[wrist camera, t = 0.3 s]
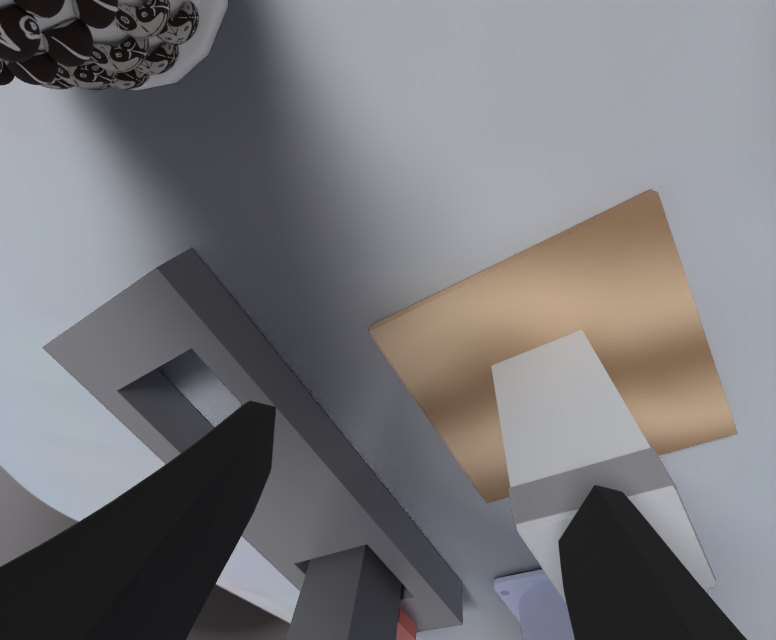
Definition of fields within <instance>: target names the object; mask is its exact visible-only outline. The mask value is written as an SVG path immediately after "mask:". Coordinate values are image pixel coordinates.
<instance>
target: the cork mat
mask: <svg viewBox="0 0 776 640" xmlns="http://www.w3.org/2000/svg"><path fill="white" fill-rule="evenodd" d="M580 330H583V332H584V334H585V336H586V337H587V339H588V341H589V342H590V344H591V346H592V348H593V349H594V351H595V353H596V354H597V356H598V358H599V360H600V361H601V363H602V365H603V367H604V368H605V370H606V372H607V373H608V375H609V377H610V379H611V380H612V382H613V384H614V385H615V387H616V389H617V391H618V392H619V394H620V396H621V397H622V399H623V401H624V403H625V404H626V406H627V408H628V410H629V411H630V413H631V415H632V416H633V418H634V420H635V422H636V423H637V425H638V427H639V428H640V430H641V432H642V434H643V435H644V437H645V439H646V440H647V442H648V444H649V446H650V447H651V448H652V447H653V448H654V450H655V452H656V453H657V455H662V454H666V453H669V452H673V451H677V450H680V449H684V448H687V447H691V446H695V445H698V444H702V443H706V442H709V441H713V440H717V439H720V438H724V437H727V436H731V435H735V434H738V433H737V430H736V427H735V424H734V421H733V418H732V415H731V412H730V409H729V406H728V403H727V400H726V397H725V394H724V391H723V388H722V385H721V382H720V379H719V376H718V373H717V370H716V367H715V363H714V360H713V357H712V354H711V351H710V348H709V345H708V342H707V339H706V336H705V333H704V330H703V327H702V324H701V321H700V318H699V315H698V312H697V309H696V306H695V303H694V300H693V297H692V294H691V291H690V288H689V285H688V282H687V279H686V276H685V273H684V270H683V267H682V264H681V261H680V258H679V255H678V252H677V249H676V246H675V243H674V240H673V237H672V234H671V231H670V228H669V225H668V222H667V219H666V216H665V212H664V209H663V206H662V203H661V200H660V197H659V194H658V192H656V191H653V190H651V189H650V190H648V191H646V192H644V193H641V194H639V195H637V196H635V197H633V198H631V199H629V200H627V201H625V202H623V203H621V204H619V205H617V206H615V207H613V208H611V209H609V210H607V211H605V212H602V213H600V214H598V215H596V216H594V217H592V218H590V219H588V220H586V221H584V222H582V223H580V224H578V225H576V226H574V227H572V228H570V229H568V230H566V231H563V232H561V233H559V234H557V235H555V236H553V237H551V238H549V239H547V240H545V241H543V242H541V243H539V244H537V245H535V246H533V247H531V248H529V249H527V250H525V251H522V252H520V253H518V254H516V255H514V256H512V257H510V258H508V259H506V260H504V261H502V262H500V263H498V264H496V265H494V266H492V267H490V268H488V269H486V270H483V271H481V272H479V273H477V274H475V275H473V276H471V277H469V278H467V279H465V280H463V281H461V282H459V283H457V284H455V285H453V286H451V287H449V288H447V289H444V290H442V291H440V292H438V293H436V294H434V295H432V296H430V297H428V298H426V299H424V300H422V301H420V302H418V303H416V304H414V305H412V306H410V307H408V308H406V309H403V310H401V311H399V312H397V313H395V314H393V315H391V316H389V317H387V318H385V319H383V320H381V321H379V322H377V323H375V324H373V325H371V326H370V329H369V331H368V332H369V334H370V335H371V337H372V338H373V339H374V341H375V342H376V344H377V345H378V347H379V348H380V350H381V351H382V353H383V354H384V355H385V357H386V358H387V360H388V361H389V363H390V364H391V366H392V367H393V368H394V370H395V371H396V373H397V374H398V376H399V377H400V379H401V380H402V381H403V383H404V384H405V386H406V387H407V389H408V390H409V392H410V393H411V394H412V396H413V397H414V399H415V400H416V402H417V403H418V405H419V406H420V408H421V409H422V410H423V412H424V413H425V415H426V416H427V418H428V419H429V421H430V422H431V423H432V425H433V426H434V428H435V429H436V431H437V432H438V434H439V435H440V436H441V438H442V439H443V441H444V442H445V444H446V445H447V447H448V448H449V449H450V451H451V452H452V454H453V455H454V457H455V458H456V460H457V461H458V462H459V464H460V465H461V467H462V468H463V470H464V471H465V473H466V474H467V476H468V477H469V478H470V480H471V481H472V483H473V484H474V486H475V487H476V489H477V490H478V491H479V493H480V494H481V496H482V497H483V499H484V500H485V502H486V503H488V502H491V501H495V500H499V499H502V498H506V497H509V489H508V488H510V482H509V475H508V469H507V463H506V456H505V450H504V444H503V437H502V431H501V425H500V418H499V412H498V406H497V399H496V393H495V387H494V380H493V374H492V368H491V366H492V365H494V364H497V363H499V362H502V361H505V360H507V359H510V358H512V357H515V356H517V355H520V354H522V353H525V352H527V351H530V350H532V349H535V348H537V347H540V346H542V345H545V344H547V343H550V342H552V341H555V340H557V339H560V338H562V337H565V336H567V335H570V334H572V333H575V332H577V331H580Z"/></svg>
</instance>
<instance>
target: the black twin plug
mask: <svg viewBox="0 0 776 640" xmlns="http://www.w3.org/2000/svg"><path fill="white" fill-rule="evenodd" d="M401 585H402V583H401V581H400V580H399V579H398V578H397V577H396V576H395V575H394V574H393V573H392V571H391V570H390V569H389V568H388V567H387V566H386V565H385V564H384V562H383V561H382V560H381V559H380V558H379V557H378V556H377V555H376V554H375V552H374V551H373V550H372V549H371V548H370V547H369V546H368V545H367V544H366V545H362V546H359V547H355V548H351V549H347V550H344V551H340V552H336V553H332V554H329V555H325V556H321V557H317V558H314V559H310V562H309V565H308V569H307V572H306V575H305V578H304V582H303V585H302V588H301V592H300V595H299V598H298V601H297V605H296V608H295V611H294V615H293V618H292V621H291V624H290V628H289V631H288V634H287V638H286V640H396V635H397V625H398V615H399V605H400V595H401Z"/></svg>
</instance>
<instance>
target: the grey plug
mask: <svg viewBox="0 0 776 640" xmlns="http://www.w3.org/2000/svg"><path fill="white" fill-rule="evenodd" d="M491 368H492V374H493V380H494V387H495V393H496V399H497V406H498V412H499V418H500V425H501V431H502V437H503V444H504V450H505V456H506V463H507V469H508V475H509V482H510V488H508V489H509V496H510V502H511V509H512V515H513V522H514V525H515V526H516V528H517V531H518V533H519V534H520V536H521V537H522V539H523V540H524V542H525V543H526V545H527V546H528V548H529V549H530V551H531V552H532V554H533V555H534V557H535V558H536V560H537V561H538V563H539V564H540V565H541V567H542V568H543V570H544V571H545V573H546V574H547V576H548V577H549V579H550V580H551V582H552V583H553V585H554V586H555V588H556V589H557V591H558V592H559V594H560V595H561V597H562V598H563V600H564V601H565V602H566V599H565V595H564V589H563V581H562V574H561V565H560V555H559V545H558V541H559V539H560V538H561V536H562V535H563V533H564V531H565V530H566V528H567V527H568V525H569V524H570V522H571V521H572V519H573V517H574V516H575V514H576V513H577V511H578V510H579V508H580V507H581V505H582V503H583V502H584V500H585V499H586V497H587V496H588V494H589V493H590V491H591V489H592V488H593V486H594V485H598V486H602V487H606V488H610V489H614V490H618V491H622V492H623V493H624V494H625V495H626V496H627V497H628V499H629V500H630V501H631V502H632V503H633V504H634V505H635V507H636V508H637V509H638V510H639V511H640V513H641V514H642V515H643V516H644V517H645V519H646V520H647V521H648V522H649V523H650V525H651V526H652V527H653V528H654V530H655V531H656V532H657V533H658V534H659V536H660V537H661V538H662V539H663V541H664V542H665V543H666V544H667V545H668V547H669V548H670V549H671V550H672V552H673V553H674V554H675V555H676V556H677V558H678V559H679V560H680V561H681V563H682V564H683V565H684V566H685V567H686V569H687V570H688V571H689V572H690V573H691V575H692V576H693V577H694V578H695V580H696V581H697V582H698V583H699V584H700V585H701V587H702V588H703V589H706V588H712V587H718V586H717V584H716V582H715V580H716V579H715V576H714V574H713V572H712V569H711V567H710V565H709V562H708V560H707V558H706V555H705V553H704V551H703V549H702V546H701V544H700V542H699V539H698V537H697V535H696V532H695V530H694V528H693V526H692V523H691V521H690V519H689V516H688V514H687V512H686V509H685V507H684V505H683V502H682V500H681V498H680V496H679V493H678V491H677V489H676V486H675V484H674V482H673V480H672V479H671V477H670V475H669V474H668V472H667V470H666V469H665V467H664V465H663V464H662V462H661V460H660V458H659V457H658V455H657V453H656V452H655V450H654V448H653V447H652V448H651V447H650V446H649V444H648V442H647V440H646V439H645V437H644V435H643V434H642V432H641V430H640V428H639V427H638V425H637V423H636V422H635V420H634V418H633V416H632V415H631V413H630V411H629V410H628V408H627V406H626V404H625V403H624V401H623V399H622V397H621V396H620V394H619V392H618V391H617V389H616V387H615V385H614V384H613V382H612V380H611V379H610V377H609V375H608V373H607V372H606V370H605V368H604V367H603V365H602V363H601V361H600V360H599V358H598V356H597V354H596V353H595V351H594V349H593V348H592V346H591V344H590V342H589V341H588V339H587V337H586V336H585V334H584V332H583V330H580V331H577V332H575V333H572V334H570V335H567V336H565V337H562V338H560V339H557V340H555V341H552V342H550V343H547V344H545V345H542V346H540V347H537V348H535V349H532V350H530V351H527V352H525V353H522V354H520V355H517V356H515V357H512V358H510V359H507V360H505V361H502V362H499V363H497V364H494V365H492V366H491Z"/></svg>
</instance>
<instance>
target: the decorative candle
mask: <svg viewBox="0 0 776 640" xmlns="http://www.w3.org/2000/svg"><path fill="white" fill-rule="evenodd" d="M227 8H228V0H0V85H6V84H9V83H10V82H11V81H12V80H13V79H14V76H16V77H17V78H18V79H20V80H22V81H24V82H26V83H29V84H33V85H41V86H43V87H47V88H51V89H68V88H72V87H74V86H77V87H81V88H87V89H91V90H103V89H107V88H110V87H111V86H112V87H115V88H118V89H125V90H128V89H130V90H142V89H147V88H153V87H158V86H163V85H168V84H173V83H177V82H178V81H179V80H181V79H182V78H183V77H184V76H185V75H186V74H187V73H188V72H190V71H191V70H192V69H193V68H194V67H195V66H196V65H197V64H199V63H200V62H201V61H202V60H203V59H204V58H205V57H206V56H208V55H209V52H210V50H211V47H212V45H213V42H214V40H215V38H216V35H217V33H218V30H219V28H220V25H221V23H222V20H223V18H224V16H225V13H226V11H227Z"/></svg>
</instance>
